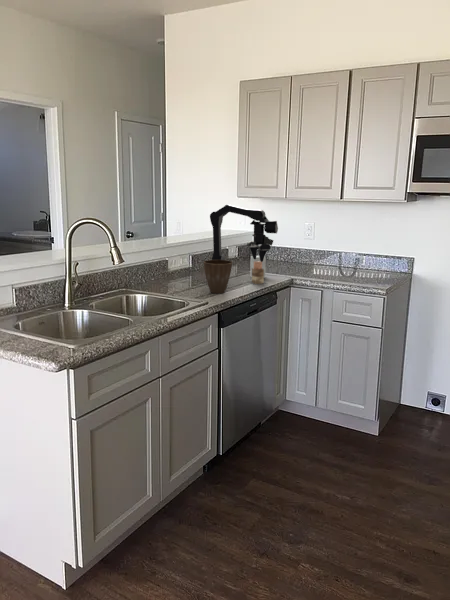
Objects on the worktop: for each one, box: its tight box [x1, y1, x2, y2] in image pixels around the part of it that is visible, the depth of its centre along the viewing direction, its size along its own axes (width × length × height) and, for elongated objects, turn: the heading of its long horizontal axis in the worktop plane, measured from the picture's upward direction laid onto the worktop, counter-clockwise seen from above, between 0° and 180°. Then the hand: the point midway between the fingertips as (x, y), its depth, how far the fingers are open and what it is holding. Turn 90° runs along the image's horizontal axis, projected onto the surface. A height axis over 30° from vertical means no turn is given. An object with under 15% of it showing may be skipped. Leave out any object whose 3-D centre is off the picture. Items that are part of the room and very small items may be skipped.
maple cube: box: [251, 276, 265, 285], centre depth 289 cm, size 5×5×4 cm
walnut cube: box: [252, 268, 264, 277], centre depth 288 cm, size 5×5×4 cm
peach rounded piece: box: [254, 261, 262, 270], centre depth 288 cm, size 5×5×4 cm
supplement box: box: [249, 255, 267, 279], centre depth 307 cm, size 7×7×13 cm
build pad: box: [248, 280, 269, 286], centre depth 290 cm, size 9×9×1 cm
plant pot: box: [203, 259, 233, 294], centre depth 264 cm, size 15×15×16 cm
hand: (258, 260), depth 287 cm, fingers open, 9 cm apart
